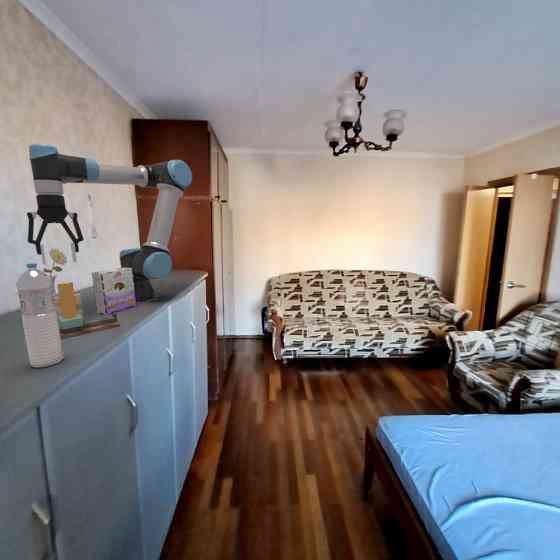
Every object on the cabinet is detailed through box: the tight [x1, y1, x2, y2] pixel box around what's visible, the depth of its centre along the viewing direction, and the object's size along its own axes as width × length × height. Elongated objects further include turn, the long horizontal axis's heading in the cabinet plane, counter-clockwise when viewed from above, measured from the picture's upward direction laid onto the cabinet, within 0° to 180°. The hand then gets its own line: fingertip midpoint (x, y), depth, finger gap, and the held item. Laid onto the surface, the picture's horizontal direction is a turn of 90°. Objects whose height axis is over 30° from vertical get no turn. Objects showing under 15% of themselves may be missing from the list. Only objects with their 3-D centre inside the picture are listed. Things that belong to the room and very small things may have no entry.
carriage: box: [57, 281, 83, 330], centre depth 95 cm, size 5×7×14 cm
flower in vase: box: [42, 247, 68, 294], centre depth 125 cm, size 13×11×25 cm
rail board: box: [59, 312, 121, 340], centre depth 99 cm, size 18×7×4 cm, turn 132°
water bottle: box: [15, 262, 65, 369], centre depth 74 cm, size 7×7×25 cm
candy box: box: [91, 267, 137, 316], centre depth 122 cm, size 14×6×16 cm, turn 154°
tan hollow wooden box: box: [54, 290, 85, 327], centre depth 108 cm, size 8×8×10 cm
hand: (60, 262), depth 105 cm, fingers open, 8 cm apart
